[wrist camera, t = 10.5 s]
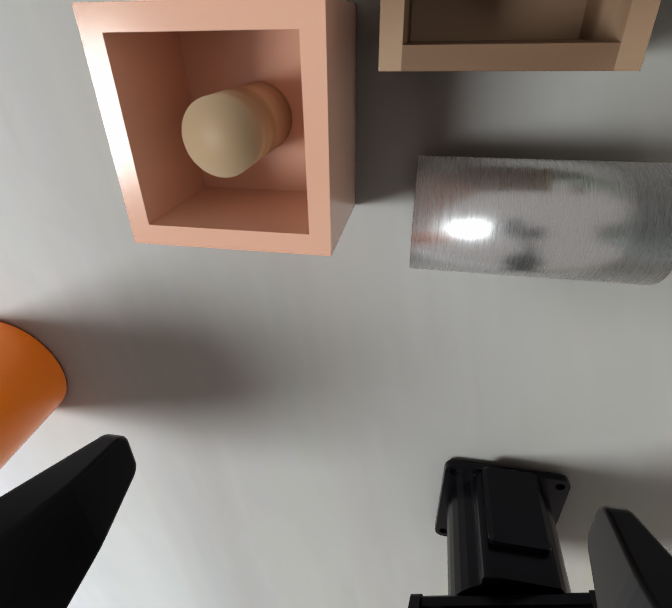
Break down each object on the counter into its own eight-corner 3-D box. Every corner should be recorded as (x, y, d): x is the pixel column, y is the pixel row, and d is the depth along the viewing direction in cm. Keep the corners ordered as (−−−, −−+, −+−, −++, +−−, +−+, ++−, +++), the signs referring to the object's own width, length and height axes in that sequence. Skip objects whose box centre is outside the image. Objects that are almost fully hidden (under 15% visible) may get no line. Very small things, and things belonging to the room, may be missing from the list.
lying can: (653, 150, 16) (711, 183, 12) (617, 254, 18) (659, 307, 14) (420, 144, 17) (416, 172, 14) (412, 242, 19) (407, 287, 16)
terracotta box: (354, 205, 19) (331, 256, 15) (198, 197, 20) (135, 242, 16) (355, 3, 15) (325, -6, 11) (165, 9, 16) (71, 2, 12)
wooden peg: (294, 150, 18) (260, 179, 14) (235, 148, 18) (189, 176, 15) (289, 81, 16) (251, 95, 13) (227, 81, 17) (174, 94, 13)
